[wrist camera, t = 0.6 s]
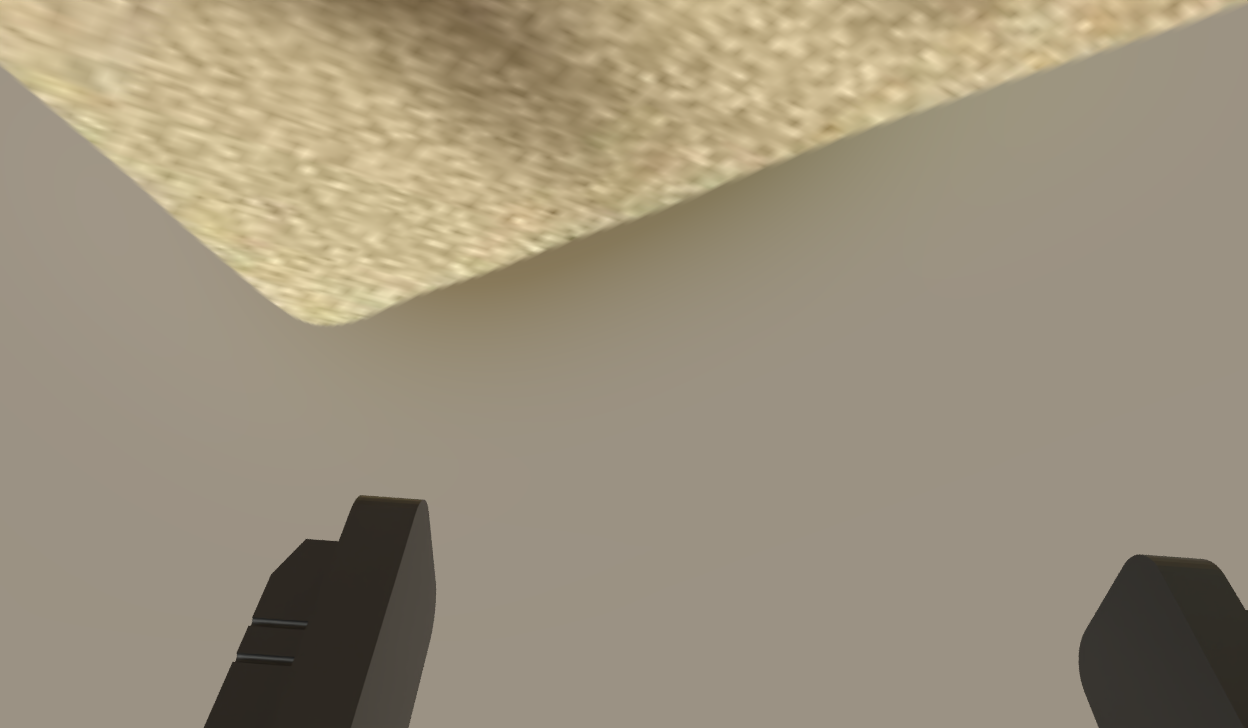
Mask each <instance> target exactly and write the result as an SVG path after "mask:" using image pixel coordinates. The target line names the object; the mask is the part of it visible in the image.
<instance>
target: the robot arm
mask: <svg viewBox="0 0 1248 728" xmlns="http://www.w3.org/2000/svg"><path fill="white" fill-rule="evenodd" d="M435 603H436V581H435V571H434V561H433V551H432V541H431V531H430V521H429V511H428V506H427V503H426V501H425V500H419V499H404V498H391V497H378V496H364V495H360V496H359V497H358V498H357V499H356V500H355V502H354V504H353V506H352V508H351V511H350V513H349V516H348V518H347V521H346V524H345V526H344V529H343V532H342V534H341V537H340V539H339V541H325V540H311V539H306V540H305V541H304V542H303V543H302V544H301V545H300V546H299V547H298V548H297V549H296V550H295V551H294V552H293V553H292V554H291V555H290V556H289V557H288V558H287V559H286V560H285V561H284V562H283V563H282V564H281V565H280V566H279V567H278V568H277V569H276V570H275V571H274V572H273V573H272V574H271V576H270V578H269V581H268V583H267V585H266V587H265V590H264V592H263V594H262V597H261V599H260V601H259V603H258V606H257V608H256V610H255V612H254V615H253V617H252V618H253V620H252V625H251V626H248V628H247V631H246V633H245V635H244V638H243V640H242V642H241V644H240V647H239V649H238V651H237V658H236V661H235V662H232V665H231V667H230V669H229V672H228V674H227V676H226V679H225V681H224V683H223V685H222V687H221V690H220V692H219V695H218V697H217V699H216V701H215V704H214V706H213V708H212V710H211V712H210V715H209V717H208V719H207V722H206V724H205V726H204V728H408V727H409V723H410V719H411V715H412V711H413V707H414V703H415V699H416V695H417V691H418V687H419V683H420V679H421V674H422V670H423V667H424V663H425V658H426V655H427V651H428V647H429V642H430V638H431V634H432V628H433V621H434V614H435ZM1079 672H1080V677H1081V682H1082V686H1083V689H1084V692H1085V694H1086V697H1087V699H1088V702H1089V704H1090V707H1091V709H1092V712H1093V714H1094V717H1095V719H1096V722H1097V724H1098V727H1099V728H1248V610H1245V608H1244V607H1243V605H1242V603H1241V602H1240V600H1239V598H1238V597H1237V595H1236V593H1235V592H1234V590H1233V588H1232V587H1231V585H1230V583H1229V582H1228V580H1227V579H1226V577H1225V575H1224V574H1223V572H1222V571H1221V570H1220V569H1219V568H1218V567H1217V565H1215V564H1214V563H1212V562H1211V561H1208V560H1204V559H1193V558H1181V557H1167V556H1153V555H1134V556H1133V557H1131V558H1130V559H1128V560H1127V562H1126V563H1125V565H1124V566H1123V567H1122V570H1121V571H1120V573H1119V574H1118V576H1117V578H1116V579H1115V581H1114V583H1113V584H1112V586H1111V588H1110V590H1109V591H1108V593H1107V595H1106V596H1105V598H1104V600H1103V602H1102V603H1101V605H1100V607H1099V608H1098V610H1097V612H1096V613H1095V615H1094V617H1093V618H1092V620H1091V622H1090V624H1089V625H1088V627H1087V629H1086V630H1085V632H1084V634H1083V637H1082V640H1081V643H1080V648H1079Z"/></svg>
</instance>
